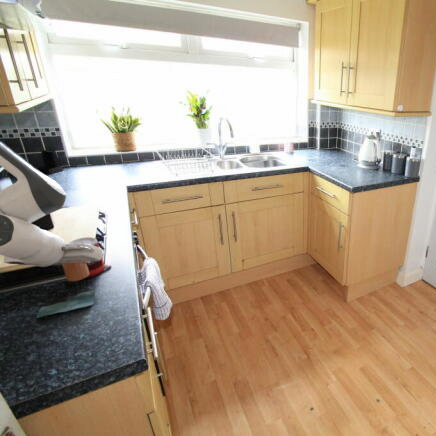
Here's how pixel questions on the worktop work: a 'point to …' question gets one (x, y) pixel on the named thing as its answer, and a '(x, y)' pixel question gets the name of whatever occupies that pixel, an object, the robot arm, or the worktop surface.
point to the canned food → (94, 266)
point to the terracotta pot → (75, 270)
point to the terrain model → (69, 304)
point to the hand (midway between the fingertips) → (74, 261)
